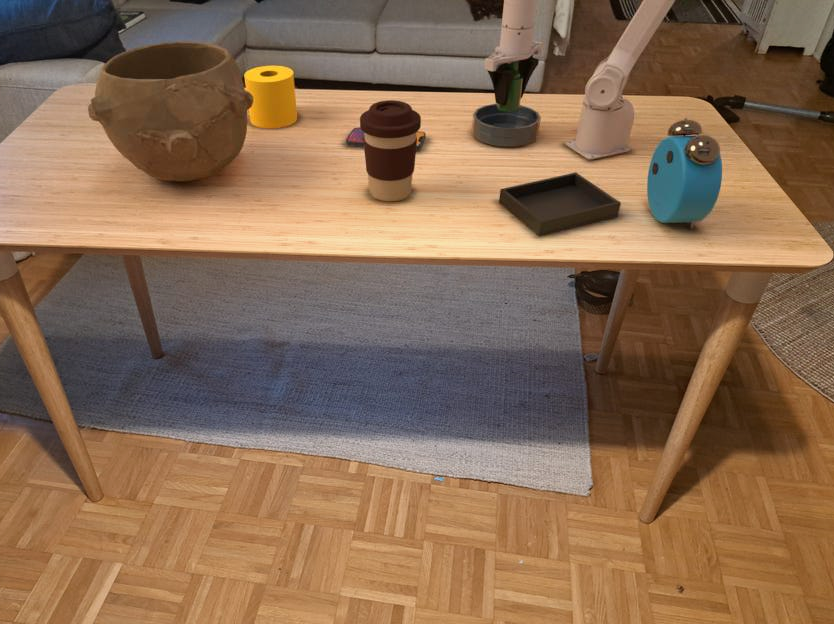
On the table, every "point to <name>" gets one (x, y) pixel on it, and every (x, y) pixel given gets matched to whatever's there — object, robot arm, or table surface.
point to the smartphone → (358, 136)
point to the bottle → (513, 91)
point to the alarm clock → (684, 175)
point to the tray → (558, 203)
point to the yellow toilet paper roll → (271, 96)
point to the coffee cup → (390, 148)
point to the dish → (505, 126)
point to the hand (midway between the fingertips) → (509, 100)
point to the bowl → (173, 108)
